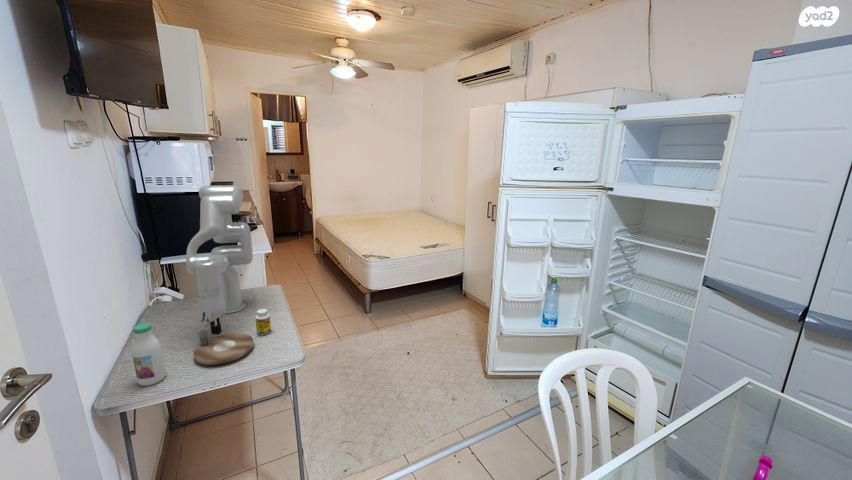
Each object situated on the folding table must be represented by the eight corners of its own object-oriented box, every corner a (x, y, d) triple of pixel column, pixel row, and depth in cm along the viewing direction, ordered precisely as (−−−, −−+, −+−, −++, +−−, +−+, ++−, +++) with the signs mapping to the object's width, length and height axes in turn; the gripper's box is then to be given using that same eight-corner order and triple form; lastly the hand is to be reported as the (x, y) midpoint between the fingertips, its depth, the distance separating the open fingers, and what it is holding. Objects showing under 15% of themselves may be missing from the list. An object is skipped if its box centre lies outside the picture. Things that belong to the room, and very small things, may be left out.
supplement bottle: (258, 337, 147) (255, 314, 145) (256, 331, 152) (253, 309, 149) (272, 333, 150) (270, 311, 148) (270, 328, 155) (267, 306, 152)
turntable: (216, 334, 146) (214, 319, 144) (263, 337, 145) (261, 322, 143) (180, 362, 127) (177, 345, 125) (234, 366, 125) (231, 348, 124)
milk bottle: (157, 370, 124) (147, 318, 119) (171, 375, 122) (162, 322, 117) (132, 383, 117) (121, 328, 113) (147, 389, 115) (136, 333, 110)
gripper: (214, 283, 145) (219, 324, 149) (187, 298, 131) (194, 342, 135) (231, 284, 144) (236, 325, 149) (206, 299, 130) (213, 343, 135)
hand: (216, 333), depth 142 cm, fingers closed
